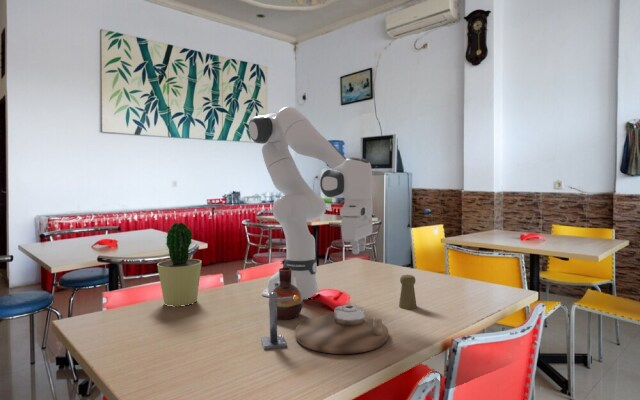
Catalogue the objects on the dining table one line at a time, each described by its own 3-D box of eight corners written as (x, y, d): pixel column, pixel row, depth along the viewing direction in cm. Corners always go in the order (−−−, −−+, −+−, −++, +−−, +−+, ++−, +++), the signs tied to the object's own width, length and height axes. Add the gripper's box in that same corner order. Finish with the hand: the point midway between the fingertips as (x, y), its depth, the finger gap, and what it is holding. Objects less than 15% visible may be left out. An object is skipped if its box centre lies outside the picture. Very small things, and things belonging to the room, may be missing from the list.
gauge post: (264, 349, 106) (263, 296, 105) (261, 341, 112) (260, 290, 111) (301, 345, 109) (300, 293, 108) (296, 337, 114) (296, 287, 114)
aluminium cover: (329, 324, 119) (329, 309, 119) (340, 314, 127) (340, 300, 127) (359, 328, 115) (359, 312, 115) (368, 318, 123) (368, 304, 123)
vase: (309, 313, 135) (308, 267, 134) (290, 323, 125) (289, 274, 125) (282, 308, 141) (281, 264, 140) (261, 318, 131) (261, 270, 130)
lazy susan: (278, 344, 108) (278, 324, 108) (317, 314, 132) (317, 298, 132) (373, 360, 98) (373, 338, 97) (397, 325, 122) (397, 307, 121)
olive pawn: (417, 309, 138) (417, 277, 137) (398, 308, 139) (398, 276, 138) (416, 304, 144) (416, 273, 143) (399, 303, 145) (398, 273, 144)
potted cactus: (166, 312, 138) (164, 224, 137) (152, 302, 150) (150, 221, 149) (209, 303, 148) (207, 221, 147) (192, 294, 160) (190, 218, 159)
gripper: (359, 206, 139) (359, 246, 140) (337, 210, 120) (338, 257, 121) (377, 206, 137) (377, 247, 137) (358, 211, 118) (358, 258, 119)
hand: (358, 252), depth 129 cm, fingers open, 4 cm apart
